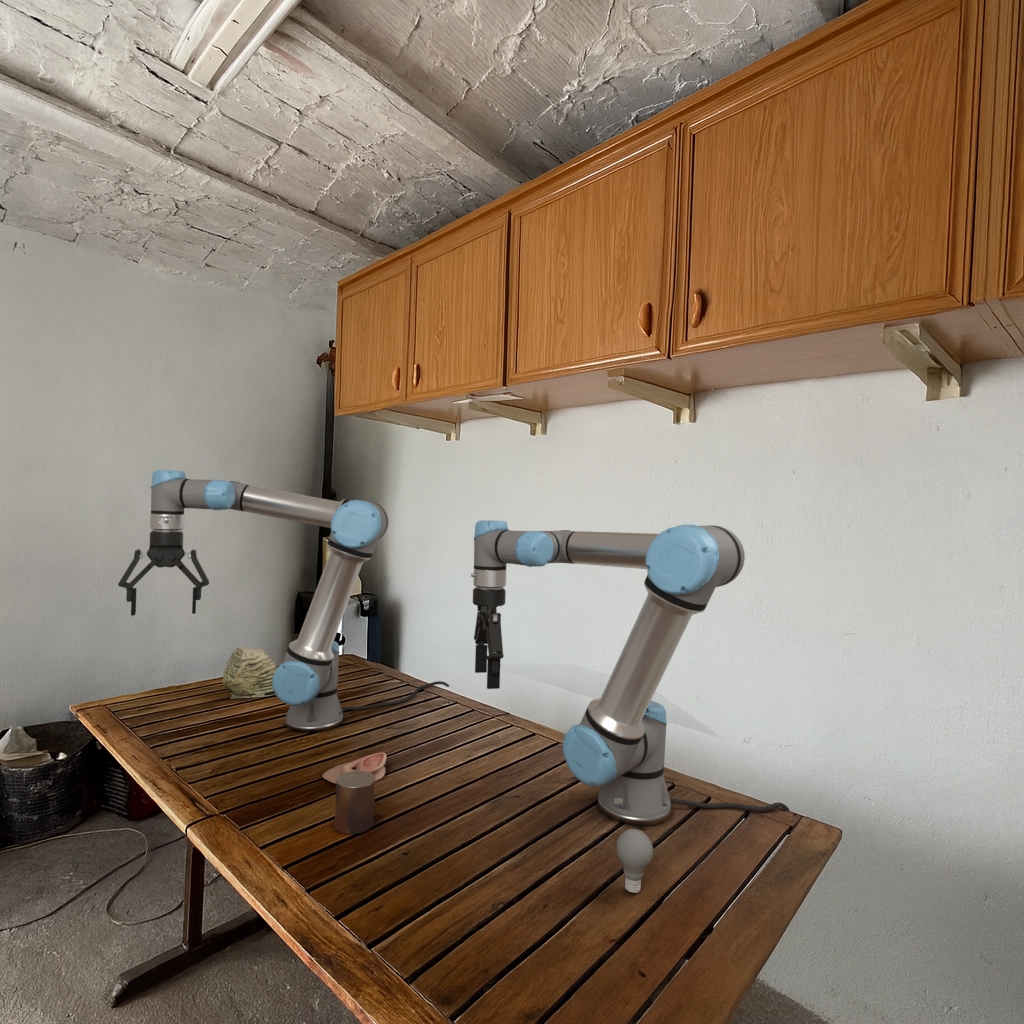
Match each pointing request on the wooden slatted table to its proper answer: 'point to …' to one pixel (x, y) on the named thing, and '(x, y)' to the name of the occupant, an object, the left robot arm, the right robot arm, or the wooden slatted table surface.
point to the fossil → (249, 673)
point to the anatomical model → (359, 767)
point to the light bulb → (634, 857)
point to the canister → (354, 802)
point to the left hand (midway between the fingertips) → (164, 613)
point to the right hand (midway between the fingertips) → (486, 680)
